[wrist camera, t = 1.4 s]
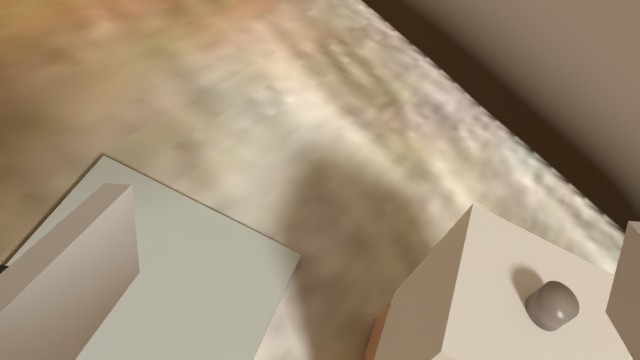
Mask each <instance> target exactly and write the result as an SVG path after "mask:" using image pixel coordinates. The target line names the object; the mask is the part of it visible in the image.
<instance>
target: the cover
mask: <svg viewBox="0 0 640 360" xmlns="http://www.w3.org/2000/svg"><path fill="white" fill-rule="evenodd" d="M614 276H615V275H613V274H611V273H609V272H607V271H605V270H603V269H601V268H599V267H597V266H595V265H593V264H591V263H589V262H587V261H585V260H583V259H581V258H579V257H577V256H576V255H574V254H572V253H570V252H568V251H566V250H564V249H562V248H560V247H558V246H556V245H554V244H552V243H550V242H548V241H546V240H544V239H542V238H540V237H538V236H536V235H534V234H532V233H530V232H528V231H526V230H524V229H522V228H520V227H518V226H516V225H514V224H512V223H510V222H508V221H506V220H504V219H502V218H500V217H498V216H496V215H494V214H493V213H491V212H489V211H487V210H485V209H483V208H481V207H479V206H477V205H475V204H472V205H471V207H470V208H469V209H468V210H467V211H466V212H465V213H464V214H463V216H462V217H461V218H460V219H459V220H458V221H457V222H456V223H455V225H454V226H453V227H452V228H451V229H450V230H449V231H448V233H447V234H446V235H445V236H444V237H443V238H442V239H441V240H440V242H439V243H438V244H437V245H436V246H435V247H434V248H433V249H432V251H431V252H430V253H429V254H428V255H427V256H426V257H425V258H424V260H423V261H422V262H421V263H420V264H419V265H418V266H417V267H416V269H415V270H414V271H413V272H412V273H411V274H410V275H409V276H408V278H407V279H406V280H405V281H404V282H403V283H402V284H401V286H400V287H399V288H398V289H397V290H396V291H395V292H394V295H393V298H392V301H391V305H390V308H389V311H388V315H387V318H386V321H385V325H384V328H383V331H382V335H381V338H380V341H379V344H378V348H377V351H376V354H375V358H374V360H628V350H627V348H626V346H625V344H624V343H623V341H622V339H621V338H620V336H619V334H618V332H617V331H616V329H615V327H614V326H613V324H612V322H611V321H610V319H609V317H608V315H607V314H606V312H605V311H606V307H607V303H608V300H609V296H610V292H611V288H612V284H613V280H614Z"/></svg>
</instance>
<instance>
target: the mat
mask: <svg viewBox="0 0 640 360" xmlns="http://www.w3.org/2000/svg"><path fill="white" fill-rule="evenodd" d="M104 183H113V184H127V185H132V193H133V204H134V215H135V225H136V236H137V247H138V257H139V268H140V273H139V274H138V275H137V277H136V278H135V279H134V281H133V282H132V283H131V285H130V286H129V287H128V289H127V290H126V292H125V293H124V294H123V296H122V297H121V298H120V300H119V301H118V302H117V304H116V305H115V306H114V308H113V309H112V311H111V312H110V313H109V315H108V316H107V317H106V319H105V320H104V321H103V323H102V324H101V325H100V327H99V328H98V330H97V331H96V332H95V334H94V335H93V336H92V338H91V339H90V340H89V342H88V343H87V344H86V346H85V347H84V349H83V350H82V351H81V353H80V354H79V355H78V357H77V358H76V359H75V360H253V359H254V357H255V354H256V352H257V350H258V348H259V346H260V344H261V341H262V339H263V337H264V335H265V333H266V331H267V328H268V326H269V324H270V322H271V320H272V317H273V315H274V313H275V311H276V309H277V307H278V304H279V302H280V300H281V298H282V296H283V294H284V291H285V289H286V287H287V285H288V283H289V281H290V278H291V276H292V274H293V272H294V270H295V267H296V265H297V263H298V261H299V259H300V257H301V254H299V253H297V252H295V251H293V250H291V249H289V248H287V247H286V246H284V245H282V244H280V243H278V242H276V241H274V240H272V239H270V238H268V237H266V236H264V235H262V234H260V233H258V232H256V231H254V230H252V229H250V228H248V227H246V226H244V225H242V224H240V223H238V222H236V221H234V220H232V219H230V218H228V217H226V216H224V215H222V214H220V213H218V212H216V211H214V210H212V209H210V208H208V207H206V206H204V205H202V204H200V203H198V202H196V201H194V200H192V199H190V198H188V197H186V196H184V195H182V194H180V193H178V192H176V191H174V190H172V189H170V188H168V187H166V186H164V185H162V184H160V183H158V182H156V181H154V180H152V179H150V178H148V177H146V176H144V175H142V174H140V173H138V172H136V171H134V170H132V169H130V168H128V167H126V166H124V165H122V164H120V163H118V162H116V161H114V160H112V159H110V158H108V157H106V156H103V157H102V158H101V159H100V160H99V161H98V162H97V163H96V165H95V166H94V167H93V168H92V169H91V170H90V171H89V172H88V173H87V175H86V176H85V177H84V178H83V179H82V180H81V181H80V182H79V184H78V185H77V186H76V187H75V188H74V189H73V190H72V191H71V192H70V194H69V195H68V196H67V197H66V198H65V199H64V200H63V201H62V203H61V204H60V205H59V206H58V207H57V208H56V209H55V210H54V211H53V213H52V214H51V215H50V216H49V217H48V218H47V219H46V220H45V222H44V223H43V224H42V225H41V226H40V227H39V228H38V229H37V231H36V232H35V233H34V234H33V235H32V236H31V237H30V238H29V239H28V241H27V242H26V243H25V244H24V245H23V246H22V247H21V248H20V250H19V251H18V252H17V253H16V254H15V255H14V256H13V257H12V258H11V260H10V261H9V262H8V263H7V264H6V265H5V266H10V265H11V264H12V263H13V262H15V261H16V260H17V259H18V258H19V257H20V256H21V255H23V254H24V253H25V252H26V251H27V250H28V249H29V248H31V247H32V246H33V245H34V244H35V243H36V242H37V241H39V240H40V239H41V238H42V237H43V236H44V235H46V234H47V233H48V232H49V231H50V230H51V229H52V228H54V227H55V226H56V225H57V224H58V223H59V222H60V221H62V220H63V219H64V218H65V217H66V216H67V215H68V214H70V213H71V212H72V211H73V210H74V209H75V208H76V207H78V206H79V205H80V204H81V203H82V202H83V201H85V200H86V199H87V198H88V197H89V196H90V195H91V194H93V193H94V192H95V191H96V190H97V189H98V188H99V187H101V186H102V185H103V184H104Z"/></svg>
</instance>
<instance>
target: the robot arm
mask: <svg viewBox="0 0 640 360" xmlns="http://www.w3.org/2000/svg"><path fill="white" fill-rule="evenodd" d="M139 273H140V268H139V257H138V247H137V236H136V225H135V215H134V204H133V193H132V185H127V184H113V183H104V184H103V185H102V186H101V187H99V188H98V189H97V190H96V191H95V192H94V193H93V194H91V195H90V196H89V197H88V198H87V199H86V200H85V201H83V202H82V203H81V204H80V205H79V206H78V207H76V208H75V209H74V210H73V211H72V212H71V213H70V214H68V215H67V216H66V217H65V218H64V219H63V220H62V221H60V222H59V223H58V224H57V225H56V226H55V227H54V228H52V229H51V230H50V231H49V232H48V233H47V234H46V235H44V236H43V237H42V238H41V239H40V240H39V241H37V242H36V243H35V244H34V245H33V246H32V247H31V248H29V249H28V250H27V251H26V252H25V253H24V254H23V255H21V256H20V257H19V258H18V259H17V260H16V261H15V262H13V263H12V264H11V265H10V266H4V265H0V360H75V359H76V358H77V357H78V355H79V354H80V353H81V351H82V350H83V349H84V347H85V346H86V344H87V343H88V342H89V340H90V339H91V338H92V336H93V335H94V334H95V332H96V331H97V330H98V328H99V327H100V325H101V324H102V323H103V321H104V320H105V319H106V317H107V316H108V315H109V313H110V312H111V311H112V309H113V308H114V306H115V305H116V304H117V302H118V301H119V300H120V298H121V297H122V296H123V294H124V293H125V292H126V290H127V289H128V287H129V286H130V285H131V283H132V282H133V281H134V279H135V278H136V277H137V275H138V274H139ZM605 312H606V314H607V315H608V317H609V319H610V321H611V322H612V324H613V326H614V327H615V329H616V331H617V332H618V334H619V336H620V338H621V339H622V341H623V343H624V344H625V346H626V348H627V350H628V351H629V353H630V355H631V356H632V358H633V360H640V222H633V221H629V222H628V226H627V230H626V233H625V237H624V241H623V245H622V249H621V253H620V257H619V261H618V265H617V268H616V272H615V276H614V280H613V284H612V288H611V292H610V296H609V300H608V303H607V307H606V311H605Z"/></svg>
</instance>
